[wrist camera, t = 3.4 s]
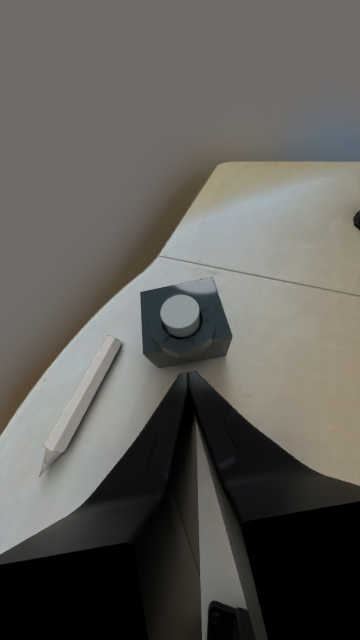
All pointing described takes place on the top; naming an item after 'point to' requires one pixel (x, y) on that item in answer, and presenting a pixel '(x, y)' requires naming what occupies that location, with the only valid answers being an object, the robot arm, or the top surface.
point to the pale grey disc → (180, 315)
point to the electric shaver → (357, 220)
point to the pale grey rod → (80, 402)
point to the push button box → (198, 346)
